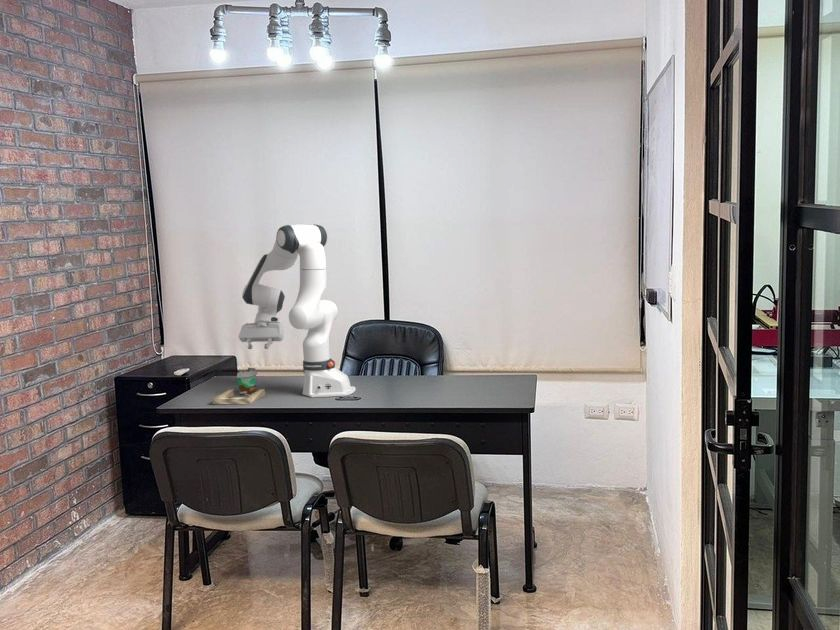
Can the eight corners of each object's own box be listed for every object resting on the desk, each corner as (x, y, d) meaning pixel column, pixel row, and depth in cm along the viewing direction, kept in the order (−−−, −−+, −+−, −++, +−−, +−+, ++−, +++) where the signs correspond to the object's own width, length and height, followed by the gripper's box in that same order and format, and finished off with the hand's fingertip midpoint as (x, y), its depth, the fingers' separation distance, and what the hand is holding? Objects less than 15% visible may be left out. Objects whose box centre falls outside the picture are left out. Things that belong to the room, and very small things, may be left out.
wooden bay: (265, 394, 347) (264, 389, 347) (249, 404, 331) (248, 398, 330) (229, 395, 350) (229, 389, 350) (212, 404, 334) (212, 398, 333)
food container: (252, 396, 346) (250, 373, 345) (238, 396, 347) (236, 373, 346) (263, 389, 358) (261, 367, 357) (250, 389, 359) (248, 367, 358)
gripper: (240, 319, 369) (233, 344, 361) (283, 318, 365) (277, 343, 357) (245, 327, 374) (238, 352, 366) (287, 326, 370) (281, 351, 362)
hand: (257, 348), depth 361 cm, fingers open, 6 cm apart
